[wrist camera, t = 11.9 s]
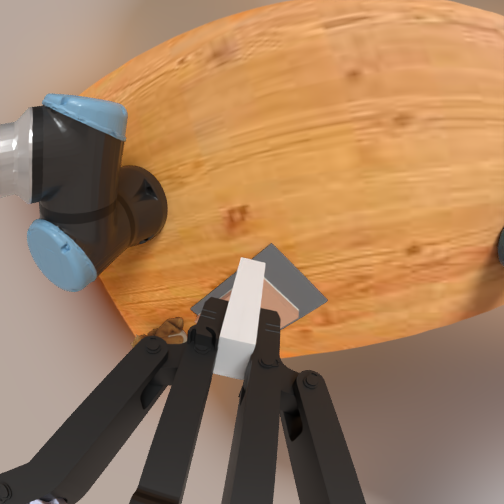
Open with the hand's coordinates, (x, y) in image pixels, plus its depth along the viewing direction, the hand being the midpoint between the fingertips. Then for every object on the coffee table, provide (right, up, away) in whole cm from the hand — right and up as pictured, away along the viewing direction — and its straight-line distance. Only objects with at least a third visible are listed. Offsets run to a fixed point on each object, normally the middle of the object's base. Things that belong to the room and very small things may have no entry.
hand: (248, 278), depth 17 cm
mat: (+1, -9, +37) cm, 39 cm away
